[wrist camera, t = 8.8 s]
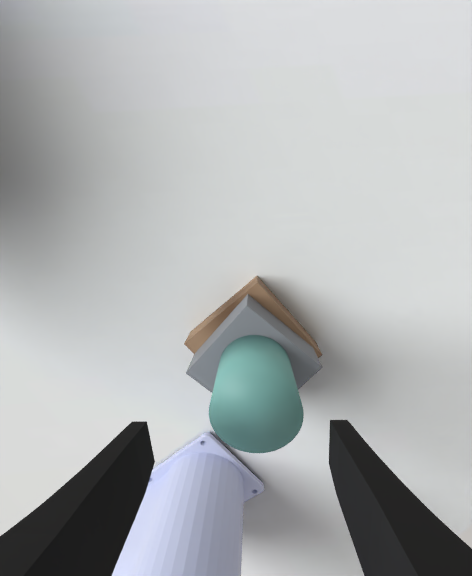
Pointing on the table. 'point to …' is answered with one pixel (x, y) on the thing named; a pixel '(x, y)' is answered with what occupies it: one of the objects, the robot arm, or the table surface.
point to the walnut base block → (253, 289)
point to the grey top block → (252, 322)
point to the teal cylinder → (255, 396)
